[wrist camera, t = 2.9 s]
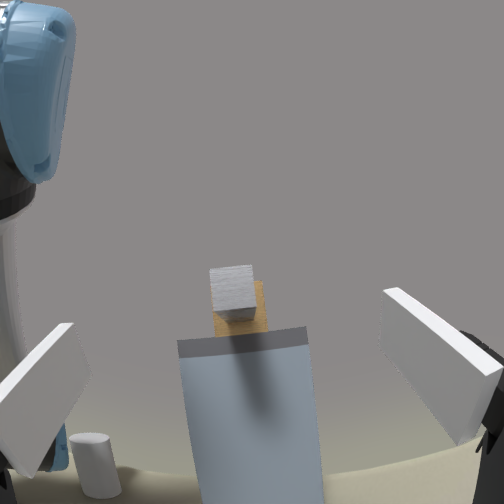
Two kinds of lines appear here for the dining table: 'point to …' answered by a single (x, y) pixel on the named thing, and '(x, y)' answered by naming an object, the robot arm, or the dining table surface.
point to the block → (237, 301)
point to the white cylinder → (95, 465)
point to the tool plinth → (253, 418)
